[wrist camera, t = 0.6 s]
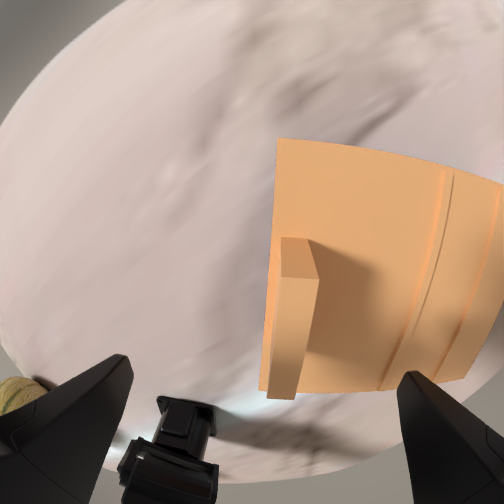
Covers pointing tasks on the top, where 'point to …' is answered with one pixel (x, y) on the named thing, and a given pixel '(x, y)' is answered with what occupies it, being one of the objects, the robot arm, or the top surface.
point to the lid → (377, 270)
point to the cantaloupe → (18, 393)
